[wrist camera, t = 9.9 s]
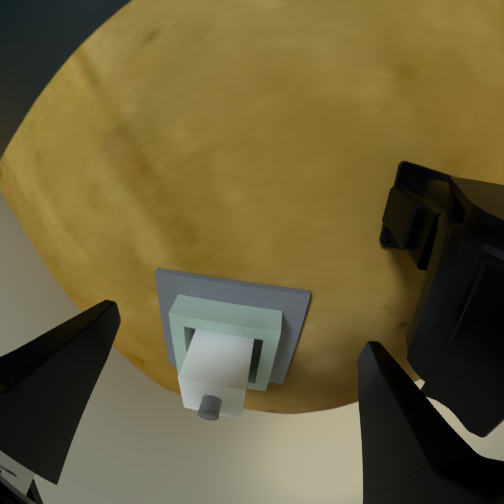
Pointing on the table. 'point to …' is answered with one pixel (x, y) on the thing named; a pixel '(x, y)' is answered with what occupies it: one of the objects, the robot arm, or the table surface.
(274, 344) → the charging dock
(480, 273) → the robot arm
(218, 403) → the plug
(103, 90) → the table surface
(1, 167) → the table surface
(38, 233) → the table surface
